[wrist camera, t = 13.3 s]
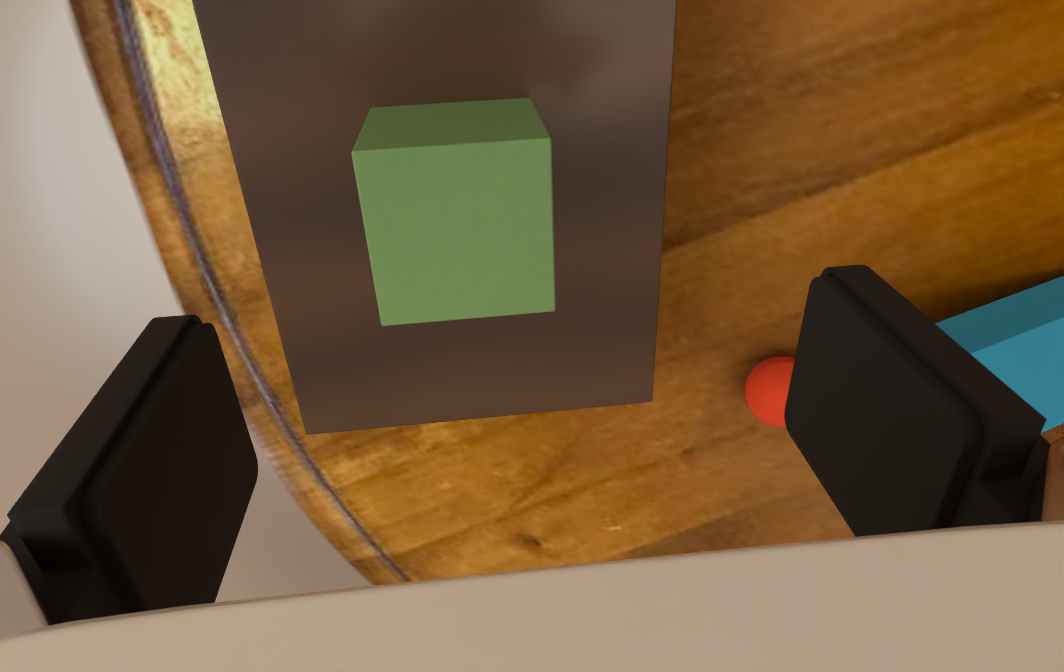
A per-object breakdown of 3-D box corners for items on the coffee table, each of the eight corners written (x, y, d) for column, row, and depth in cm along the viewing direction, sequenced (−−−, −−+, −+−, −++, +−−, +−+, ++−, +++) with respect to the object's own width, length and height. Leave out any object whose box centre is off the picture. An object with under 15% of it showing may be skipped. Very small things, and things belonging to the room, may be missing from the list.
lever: (1015, 229, 37) (732, 324, 32) (1162, 278, 31) (844, 403, 26) (987, 338, 40) (728, 438, 36) (1114, 400, 35) (825, 529, 30)
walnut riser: (200, -173, 21) (138, -199, 17) (644, -188, 22) (691, -217, 18) (324, 366, 32) (305, 435, 27) (625, 340, 32) (652, 402, 28)
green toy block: (370, 107, 21) (350, 151, 17) (531, 96, 22) (551, 137, 17) (393, 255, 24) (381, 327, 20) (536, 244, 24) (555, 312, 20)
